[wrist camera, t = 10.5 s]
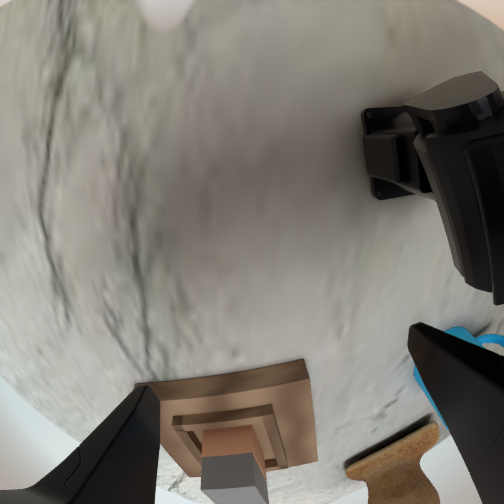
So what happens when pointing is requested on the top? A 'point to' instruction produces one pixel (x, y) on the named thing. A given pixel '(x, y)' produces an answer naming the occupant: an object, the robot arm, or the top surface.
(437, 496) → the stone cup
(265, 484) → the block
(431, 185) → the robot arm
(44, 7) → the top surface
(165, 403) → the walnut cradle stand
